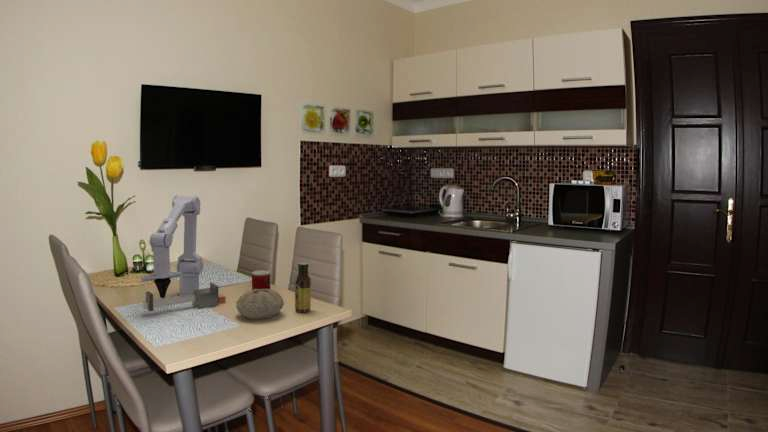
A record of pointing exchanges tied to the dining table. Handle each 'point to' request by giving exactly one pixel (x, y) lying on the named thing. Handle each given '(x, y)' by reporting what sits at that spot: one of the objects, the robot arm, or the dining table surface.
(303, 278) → the sauce bottle
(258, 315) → the decorative shell
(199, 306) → the bearing block
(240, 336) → the dining table surface
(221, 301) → the spacer
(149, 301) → the shaft
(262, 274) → the canned food
